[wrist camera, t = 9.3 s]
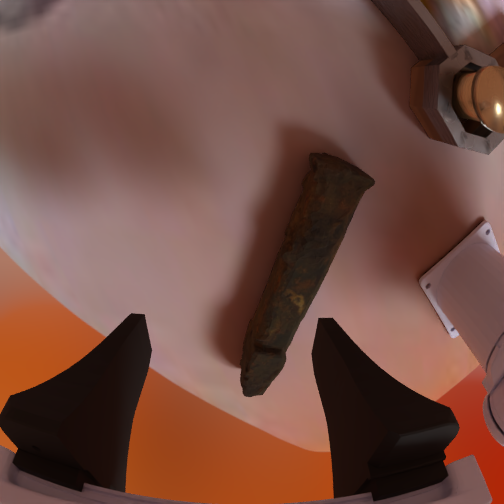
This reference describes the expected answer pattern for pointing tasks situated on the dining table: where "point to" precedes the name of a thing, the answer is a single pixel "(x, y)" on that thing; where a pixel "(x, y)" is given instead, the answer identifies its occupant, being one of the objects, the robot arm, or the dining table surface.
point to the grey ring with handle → (440, 71)
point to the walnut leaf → (416, 95)
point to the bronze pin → (480, 97)
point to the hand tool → (300, 265)
